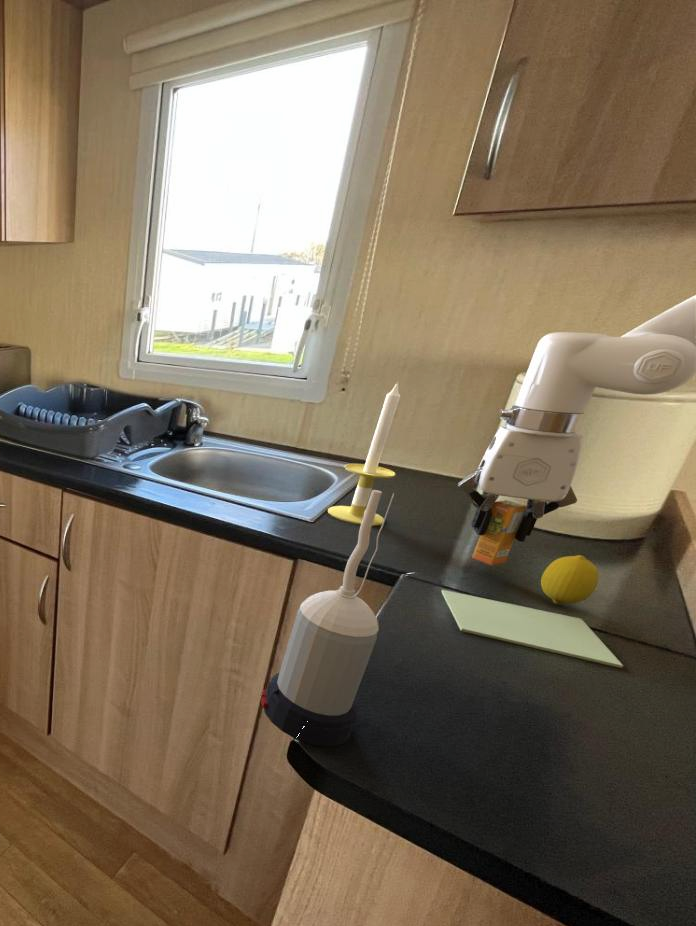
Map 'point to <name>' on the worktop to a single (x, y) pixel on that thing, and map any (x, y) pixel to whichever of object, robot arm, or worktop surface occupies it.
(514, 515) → the supplement box
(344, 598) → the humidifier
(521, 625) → the mat
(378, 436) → the candle
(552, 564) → the lemon
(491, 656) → the worktop surface
